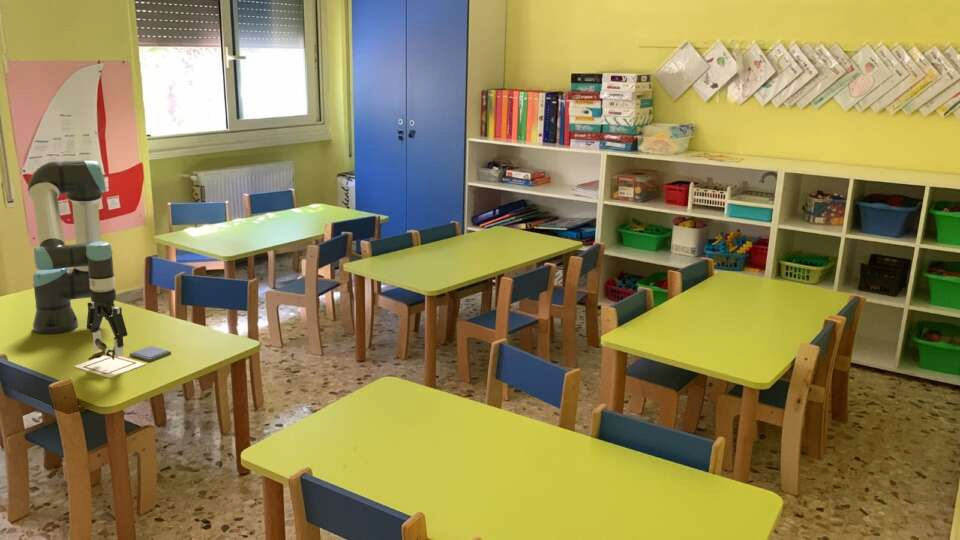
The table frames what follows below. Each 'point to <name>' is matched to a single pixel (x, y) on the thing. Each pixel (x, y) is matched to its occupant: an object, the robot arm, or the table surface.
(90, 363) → the print sheet
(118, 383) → the table surface
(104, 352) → the eagle figurine
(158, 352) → the ink pad
